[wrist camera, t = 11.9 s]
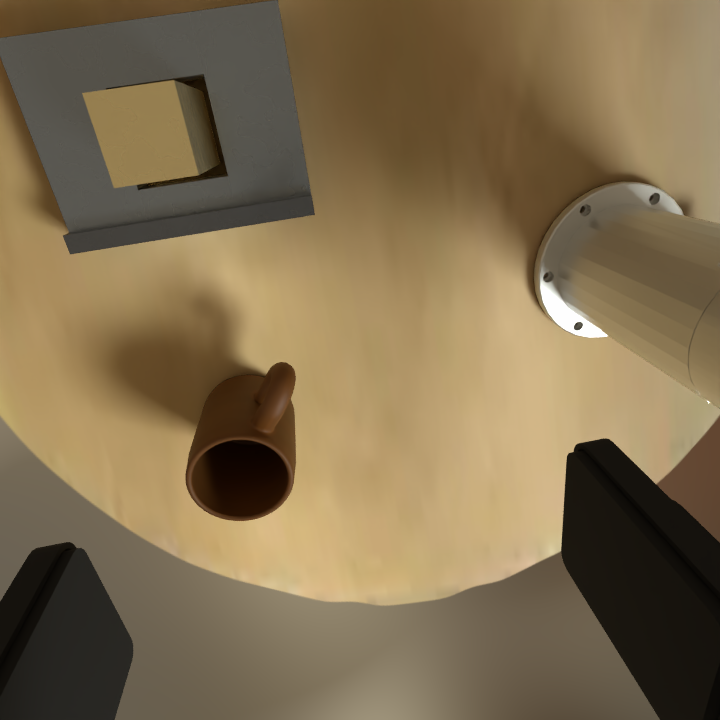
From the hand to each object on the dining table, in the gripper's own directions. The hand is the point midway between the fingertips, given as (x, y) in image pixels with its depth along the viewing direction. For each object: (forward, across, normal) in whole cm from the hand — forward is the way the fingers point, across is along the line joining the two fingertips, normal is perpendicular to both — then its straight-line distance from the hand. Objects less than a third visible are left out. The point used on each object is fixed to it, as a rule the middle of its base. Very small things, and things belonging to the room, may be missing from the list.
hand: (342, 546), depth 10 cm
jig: (+30, +7, -8) cm, 32 cm away
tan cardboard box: (+30, +7, -8) cm, 32 cm away
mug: (+31, +6, +12) cm, 33 cm away
